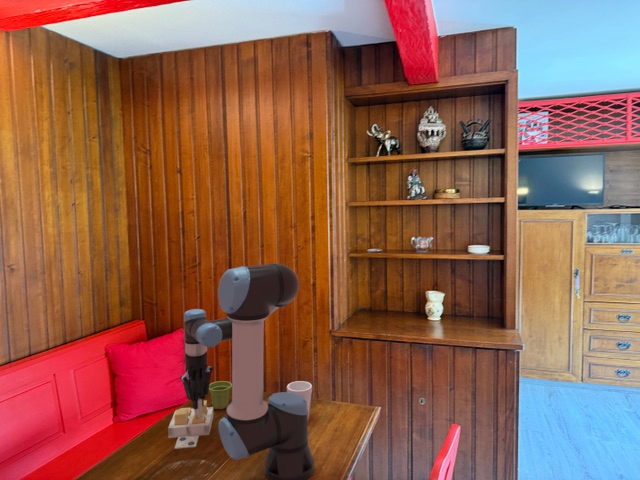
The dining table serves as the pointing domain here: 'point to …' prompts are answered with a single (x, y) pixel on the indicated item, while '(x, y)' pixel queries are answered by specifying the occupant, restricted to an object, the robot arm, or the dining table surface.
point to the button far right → (204, 407)
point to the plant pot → (220, 394)
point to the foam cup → (301, 391)
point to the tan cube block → (188, 410)
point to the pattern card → (186, 442)
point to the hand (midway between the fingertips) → (198, 416)
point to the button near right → (198, 419)
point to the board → (191, 426)
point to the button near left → (181, 417)
